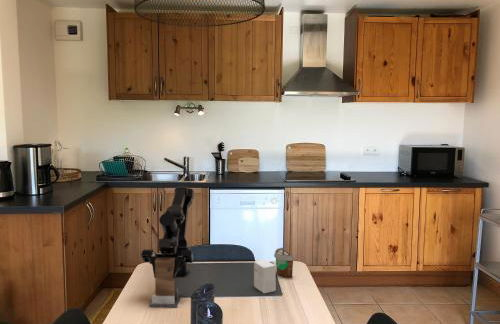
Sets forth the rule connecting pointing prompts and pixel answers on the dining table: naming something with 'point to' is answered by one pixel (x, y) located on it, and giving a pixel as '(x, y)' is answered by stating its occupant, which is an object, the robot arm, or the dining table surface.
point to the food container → (283, 263)
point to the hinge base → (165, 300)
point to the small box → (265, 276)
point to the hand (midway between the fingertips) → (164, 277)
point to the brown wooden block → (164, 276)
